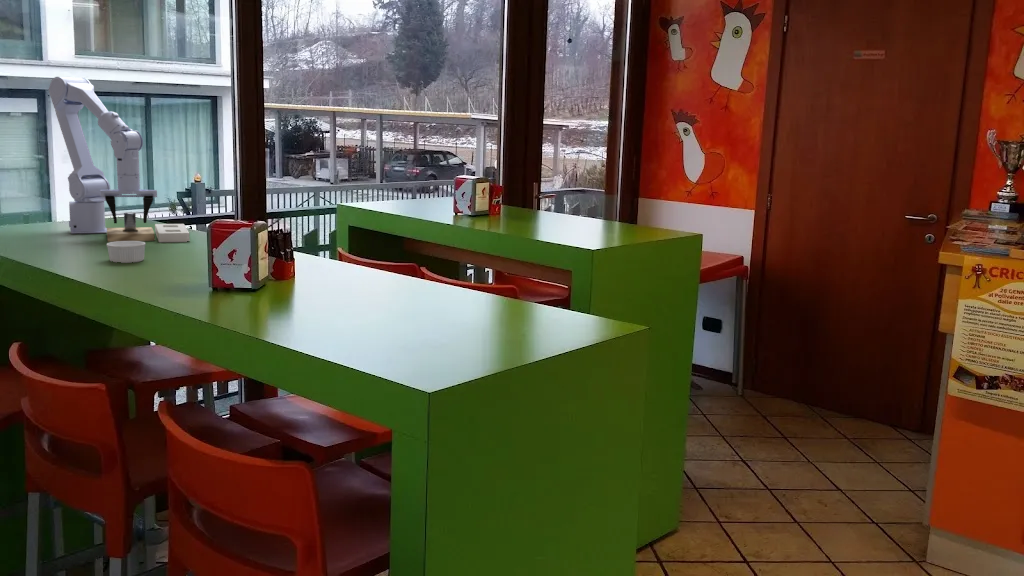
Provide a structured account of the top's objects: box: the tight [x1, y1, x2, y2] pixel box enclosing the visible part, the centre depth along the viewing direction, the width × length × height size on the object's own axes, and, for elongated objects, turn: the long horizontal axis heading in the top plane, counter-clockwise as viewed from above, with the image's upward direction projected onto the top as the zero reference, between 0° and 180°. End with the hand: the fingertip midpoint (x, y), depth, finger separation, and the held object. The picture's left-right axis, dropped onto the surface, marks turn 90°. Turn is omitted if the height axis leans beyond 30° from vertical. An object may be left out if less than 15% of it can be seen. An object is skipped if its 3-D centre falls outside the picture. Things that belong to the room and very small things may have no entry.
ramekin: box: [106, 241, 146, 264], centre depth 224 cm, size 9×9×4 cm
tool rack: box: [154, 223, 190, 243], centre depth 261 cm, size 8×18×2 cm, turn 24°
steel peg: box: [123, 211, 137, 232], centre depth 256 cm, size 3×3×7 cm
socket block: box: [106, 226, 156, 242], centre depth 257 cm, size 12×12×2 cm
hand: (130, 222), depth 256 cm, fingers open, 7 cm apart
